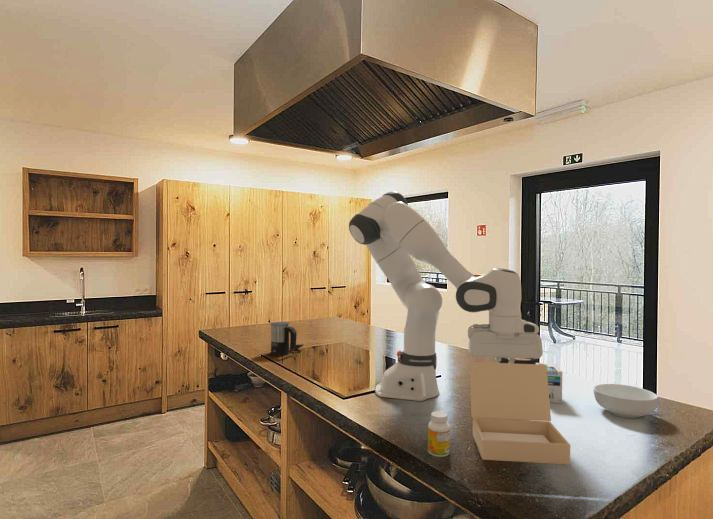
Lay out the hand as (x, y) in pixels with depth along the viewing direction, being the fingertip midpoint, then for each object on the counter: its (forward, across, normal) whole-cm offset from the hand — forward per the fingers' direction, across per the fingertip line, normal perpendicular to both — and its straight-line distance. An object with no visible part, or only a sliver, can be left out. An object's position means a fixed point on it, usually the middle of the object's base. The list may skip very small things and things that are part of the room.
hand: (504, 372), depth 124 cm
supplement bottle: (+15, -20, -20) cm, 32 cm away
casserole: (+15, +17, +51) cm, 56 cm away
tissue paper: (+15, 0, -16) cm, 22 cm away
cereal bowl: (+16, +40, +14) cm, 45 cm away
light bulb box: (+16, +21, +26) cm, 37 cm away
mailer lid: (+3, 0, -7) cm, 7 cm away
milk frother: (+15, -85, +79) cm, 117 cm away
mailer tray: (+15, 0, -16) cm, 22 cm away
